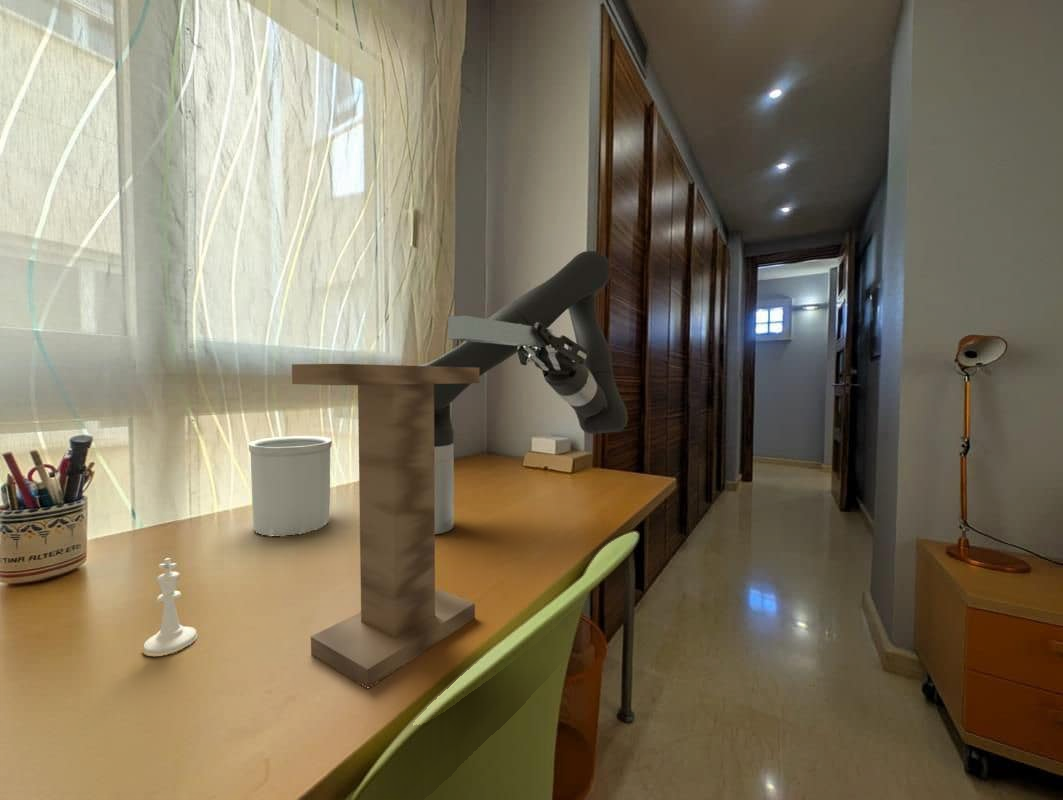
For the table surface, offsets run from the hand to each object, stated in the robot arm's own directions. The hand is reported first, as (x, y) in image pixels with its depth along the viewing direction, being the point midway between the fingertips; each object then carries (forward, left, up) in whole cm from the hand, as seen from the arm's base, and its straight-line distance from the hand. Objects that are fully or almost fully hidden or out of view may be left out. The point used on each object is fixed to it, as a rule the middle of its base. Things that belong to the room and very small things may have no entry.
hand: (527, 327), depth 74 cm
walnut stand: (0, -27, -39) cm, 47 cm away
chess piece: (-20, -43, -39) cm, 61 cm away
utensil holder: (-49, -13, -39) cm, 64 cm away
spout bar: (0, -6, -3) cm, 6 cm away
